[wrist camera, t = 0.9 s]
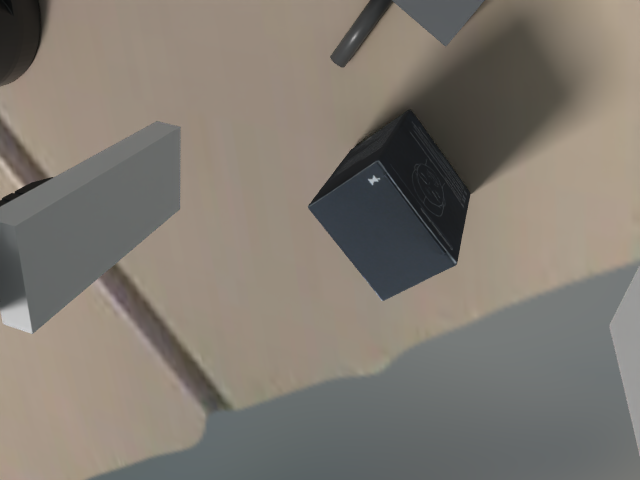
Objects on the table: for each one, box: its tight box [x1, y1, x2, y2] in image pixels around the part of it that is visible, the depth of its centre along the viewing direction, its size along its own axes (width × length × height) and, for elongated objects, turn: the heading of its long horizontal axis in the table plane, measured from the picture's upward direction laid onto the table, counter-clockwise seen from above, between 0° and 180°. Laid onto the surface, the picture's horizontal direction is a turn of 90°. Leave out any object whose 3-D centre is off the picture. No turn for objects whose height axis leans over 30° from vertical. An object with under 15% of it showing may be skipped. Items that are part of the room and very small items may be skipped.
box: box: [308, 110, 470, 301], centre depth 38 cm, size 8×6×11 cm
